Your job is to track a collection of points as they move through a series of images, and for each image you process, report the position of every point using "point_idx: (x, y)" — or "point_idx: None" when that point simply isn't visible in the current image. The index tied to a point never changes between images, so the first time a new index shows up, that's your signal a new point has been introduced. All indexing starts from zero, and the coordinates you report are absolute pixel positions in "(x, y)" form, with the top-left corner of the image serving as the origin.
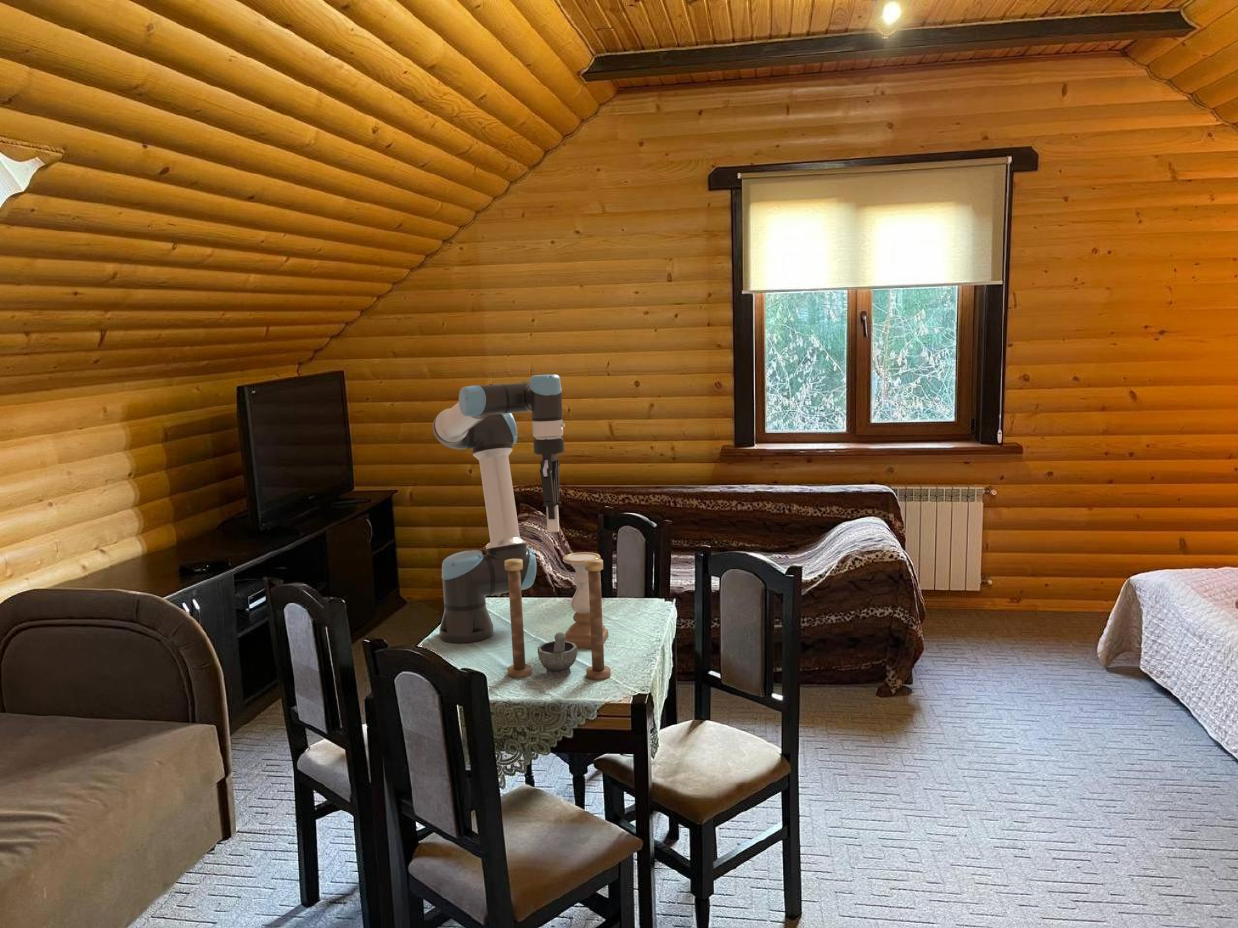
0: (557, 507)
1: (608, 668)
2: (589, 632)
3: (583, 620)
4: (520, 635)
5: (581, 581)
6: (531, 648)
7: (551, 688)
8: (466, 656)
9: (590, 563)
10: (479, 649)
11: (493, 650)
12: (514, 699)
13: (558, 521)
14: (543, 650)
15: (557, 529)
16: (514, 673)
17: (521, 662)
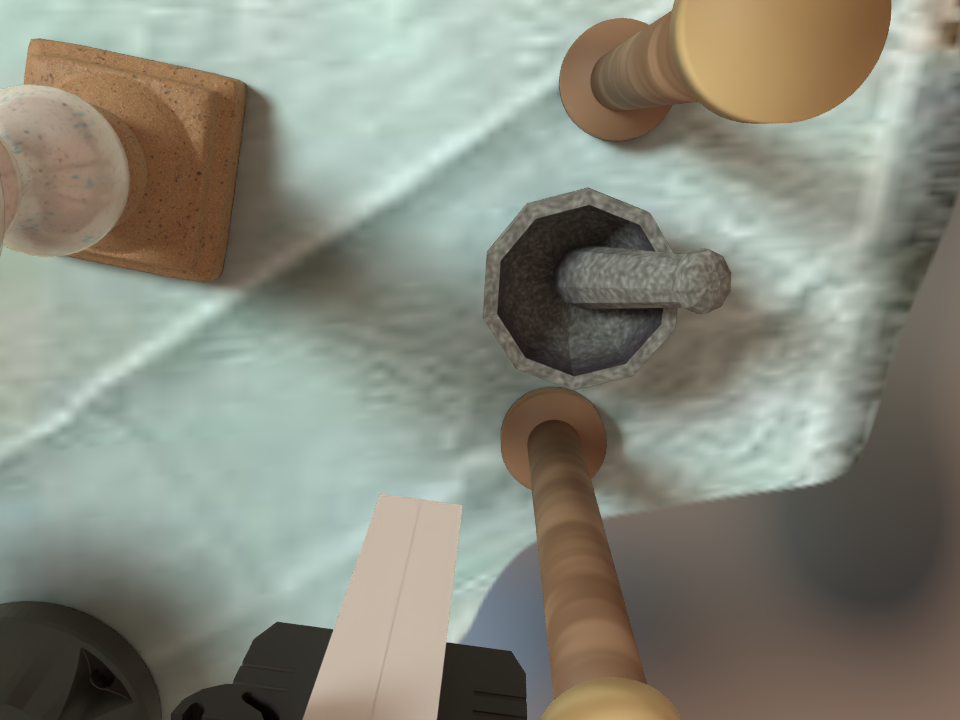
0: (372, 716)
1: (612, 28)
2: (182, 136)
3: (145, 170)
4: (592, 492)
5: (17, 188)
6: (234, 414)
7: (741, 289)
8: None
9: (879, 54)
10: (239, 630)
11: (254, 573)
12: (834, 429)
13: (390, 562)
14: (543, 357)
15: (459, 527)
16: (603, 458)
17: (580, 444)
